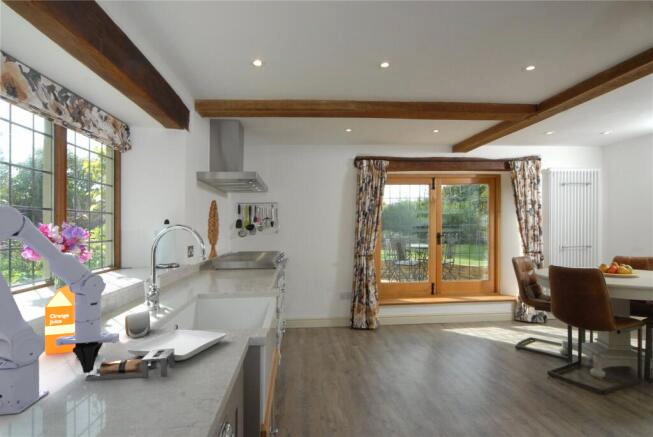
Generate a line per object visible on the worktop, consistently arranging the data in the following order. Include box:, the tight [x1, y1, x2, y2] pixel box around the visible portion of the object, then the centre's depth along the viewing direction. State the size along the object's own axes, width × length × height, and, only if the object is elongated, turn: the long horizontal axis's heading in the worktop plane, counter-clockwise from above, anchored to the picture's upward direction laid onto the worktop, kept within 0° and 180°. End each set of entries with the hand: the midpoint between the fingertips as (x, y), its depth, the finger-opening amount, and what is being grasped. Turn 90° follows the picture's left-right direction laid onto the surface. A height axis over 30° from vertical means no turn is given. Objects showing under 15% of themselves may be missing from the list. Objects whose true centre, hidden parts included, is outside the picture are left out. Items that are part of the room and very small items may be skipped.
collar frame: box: [85, 348, 176, 382], centre depth 93 cm, size 7×20×5 cm, turn 96°
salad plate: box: [126, 329, 227, 362], centre depth 110 cm, size 21×21×3 cm
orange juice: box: [44, 285, 75, 355], centre depth 114 cm, size 8×9×20 cm
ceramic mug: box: [124, 310, 151, 339], centre depth 127 cm, size 11×8×8 cm
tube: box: [99, 358, 143, 374], centre depth 92 cm, size 10×4×4 cm, turn 96°
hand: (88, 371), depth 91 cm, fingers closed
